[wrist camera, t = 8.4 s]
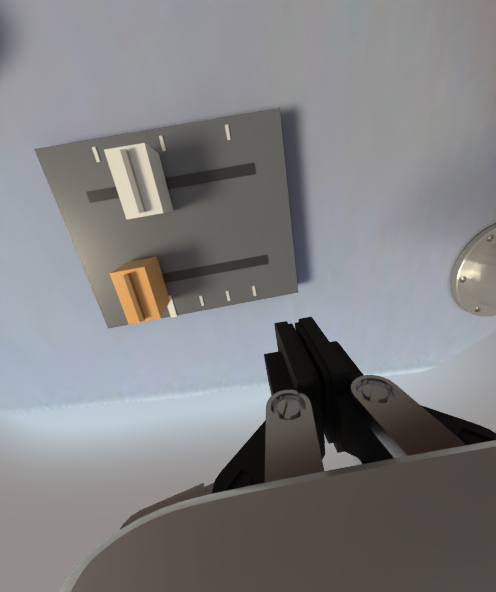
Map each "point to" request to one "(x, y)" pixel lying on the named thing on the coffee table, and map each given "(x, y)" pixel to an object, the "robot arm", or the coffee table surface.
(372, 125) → the coffee table surface
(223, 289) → the console
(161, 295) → the fader orange
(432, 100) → the coffee table surface
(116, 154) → the fader white
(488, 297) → the robot arm
